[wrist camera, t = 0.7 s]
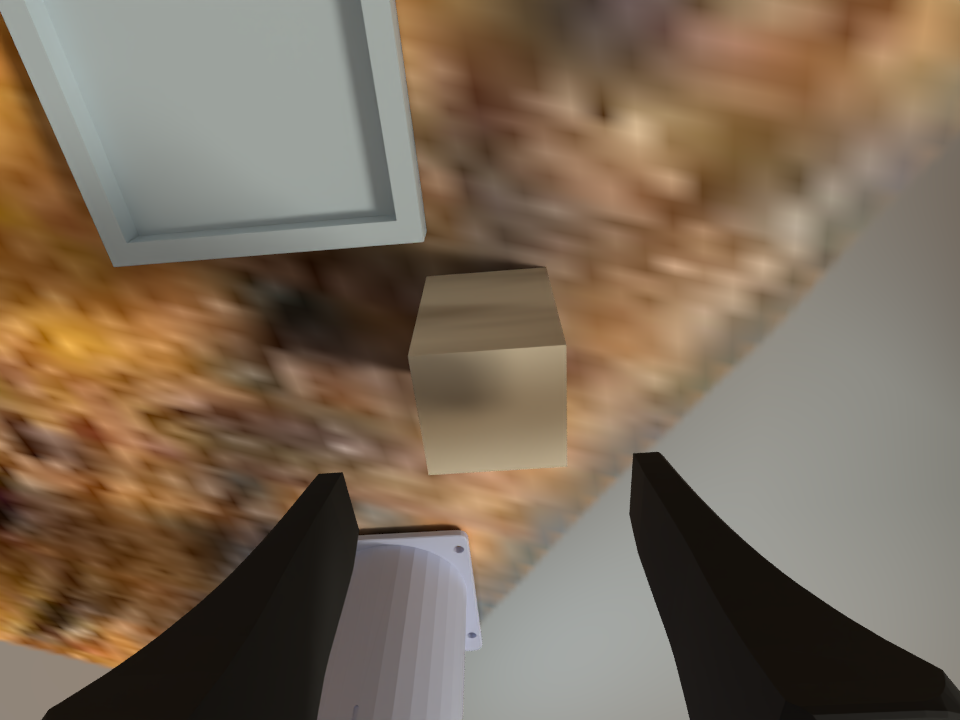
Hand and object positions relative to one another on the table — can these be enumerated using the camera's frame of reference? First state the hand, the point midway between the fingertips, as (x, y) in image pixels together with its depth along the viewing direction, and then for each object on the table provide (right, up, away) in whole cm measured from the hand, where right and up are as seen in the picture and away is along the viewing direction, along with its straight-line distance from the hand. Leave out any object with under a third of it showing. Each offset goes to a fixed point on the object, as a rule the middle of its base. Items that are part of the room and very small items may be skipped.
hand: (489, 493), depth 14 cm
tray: (-8, +12, +4) cm, 15 cm away
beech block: (0, +5, +8) cm, 9 cm away
